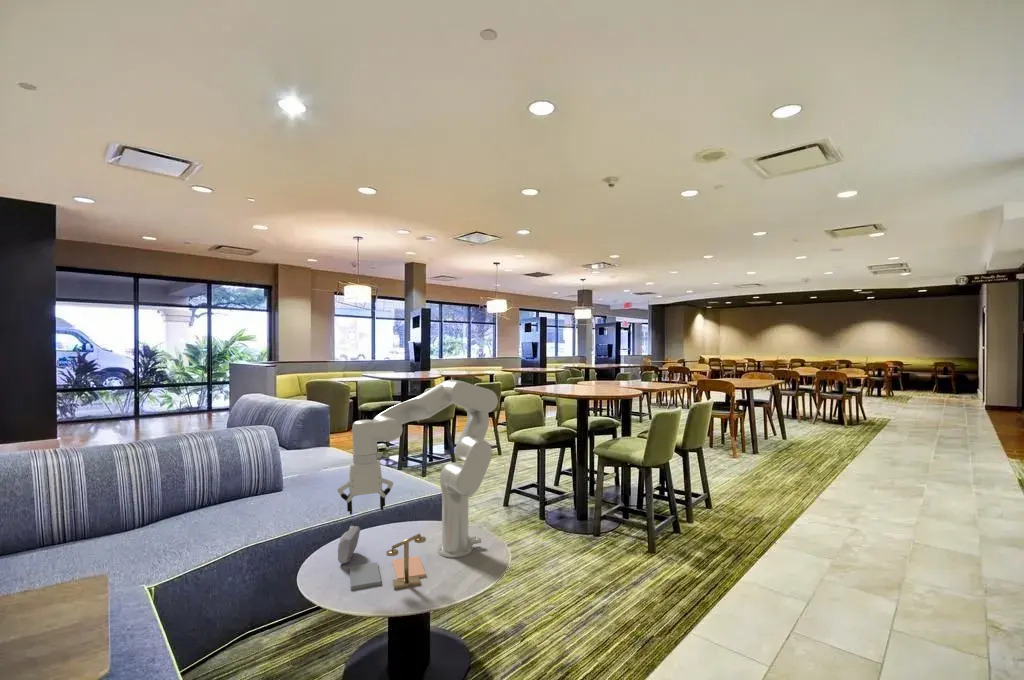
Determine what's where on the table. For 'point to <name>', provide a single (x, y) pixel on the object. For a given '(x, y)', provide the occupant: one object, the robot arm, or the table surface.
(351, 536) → the stone block
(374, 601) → the table surface
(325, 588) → the table surface
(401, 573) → the terracotta mat
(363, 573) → the slate mat
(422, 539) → the balance
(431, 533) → the table surface
